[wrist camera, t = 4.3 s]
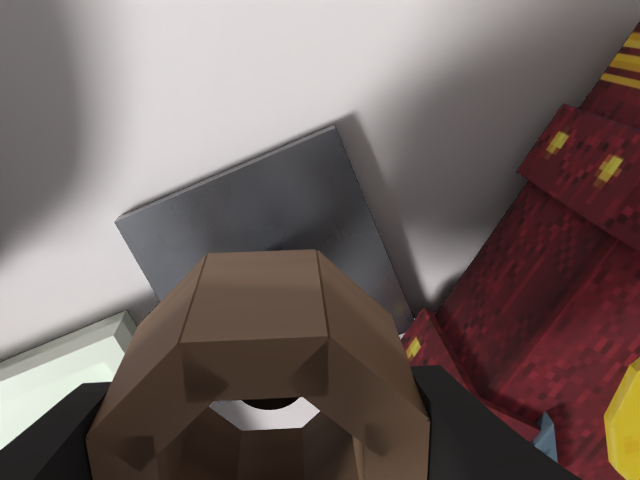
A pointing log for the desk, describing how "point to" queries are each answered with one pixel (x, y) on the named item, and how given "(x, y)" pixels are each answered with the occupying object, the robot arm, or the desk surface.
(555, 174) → the decorative book
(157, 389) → the collar
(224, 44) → the desk surface
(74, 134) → the desk surface
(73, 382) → the tray
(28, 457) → the robot arm
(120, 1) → the desk surface
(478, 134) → the desk surface
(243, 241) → the grey peg stand
